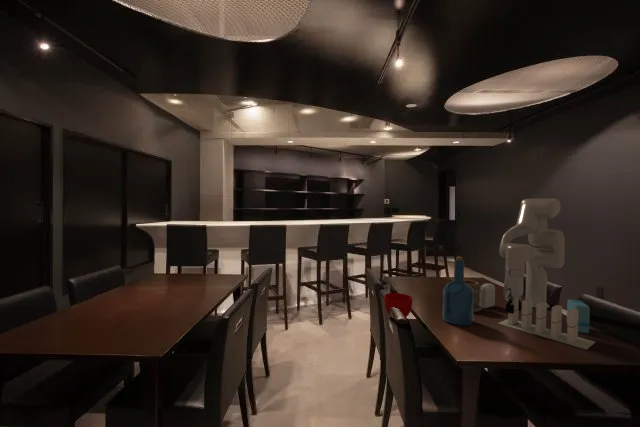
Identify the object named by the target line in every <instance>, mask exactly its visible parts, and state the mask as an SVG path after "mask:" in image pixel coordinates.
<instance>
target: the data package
mask: <svg viewBox="0 0 640 427" xmlns="http://www.w3.org/2000/svg"><path fill="white" fill-rule="evenodd" d="M566 306H567V307H566V324H567V326H568V311H569V310H571V309H577V310H579V311H578V334H579V333H581V334H586V335H587V334H589V333H590V315H591V314H590V313H591V310H590V307H589V305H587V304H586V303H585V302H583V301H582V300H578V299H570V298H569V299H567V304H566Z"/></svg>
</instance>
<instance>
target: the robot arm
mask: <svg viewBox="0 0 640 427" xmlns="http://www.w3.org/2000/svg"><path fill="white" fill-rule="evenodd" d="M561 207H562V206H561V202H560V200H559V199H558V198H525V199H523V200H521V201H520V209H519V211H518V212H519V213H518V216H517V220H516V224H515V225H514V226H512V227H510V228H509V229H508V230H507V231H506V232H505V233H504V234H503V236H502V238H501V241H500V245H499V255H500V256H501V257H502V258H503V259H505V266H504V272H505V273H504V275H505V277H504V281H503V282H504V283H503V292H502V293H503V294H502V295H503V297H504V300H505V312H506V313H507V314H508V313H512V314H513V313H514V305H513V303H514V299H515V298H518V297H519V306H518V312H520V311H521V312H522V301H523V300H522V298H523V295H524V278H525V299H524V300H526V299H531V300H532V308H534V307H535V309H536V304H538V303H540V302H545V303H547V290H548V288H547V287H548V286H547V285H548V274H547V272H546V270H545V269H544V267H545V268H553V269H560V268H563V267H564V264H565V235H564V233H563V231H561V230H559V229H549V228H548V219H552V218H553V219H554V218H555V217H556V216H557V215H559V213H560V212H561V209H562V208H561ZM526 235H528V236H527V237H528V240H527V241H528V243H529V244H526V243H525V244H523V243H522V244H521V243H512V241H513V240H515V239H517V238H520V237H523V236H526ZM533 246H535V247H533ZM539 247H543V248H539ZM548 248H549V249H548ZM551 248H552V249H551ZM525 269H526V272H525ZM525 273H526V274H525ZM525 276H526V277H525ZM512 297H513V298H512ZM511 299H512V301H511ZM550 307H551V306H550V304H548V303H547V309H550Z"/></svg>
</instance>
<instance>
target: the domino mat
mask: <svg viewBox="0 0 640 427" xmlns="http://www.w3.org/2000/svg"><path fill="white" fill-rule="evenodd" d="M521 321H522V320H518V323H516V324H514V325H510V324H508V318H507V319H503V321H500V322H497V324H499V325H503V326H505V327H509V328H512V329H515V330H520V331H523V332H526V333H529V334H533V335H537V336H539V337H542V338H546V339H550V340H553V341H556V342H560V343H562V344H563V343H564V344H568V345H570V346H574V347H577V348H580V349H584V350H588V349H589V348H591V346H593V345H594V344H596V341H594V340H589V339H588V338H587V339H586V338H583V337H580V336H578V337H577V340H576V341H574V342H573V343H572V342H569V341H567V333H566V332H561V335H560V336H558V337H556V338H555V337H551V328H547V327H546V330H545V331H544V332H542V333H537V332H536V324H531V327H529V328H527V329H524V328H521Z"/></svg>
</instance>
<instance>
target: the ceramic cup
mask: <svg viewBox="0 0 640 427" xmlns="http://www.w3.org/2000/svg"><path fill="white" fill-rule="evenodd" d="M383 297H384V307H385V311H386V314H388V315H389V317H390V308H391V307H395V308H398V309H400V311H401V312H402V313H403V315H404V316H405V317H406V318H407V317H409V315H410V313H411V311H412V307H413V300H414V299H413V296H411V295H408V294H406V293H405V294H404V293H400V292H399V293H398V292H389V293H386V294H385V295H384V296H383Z"/></svg>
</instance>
